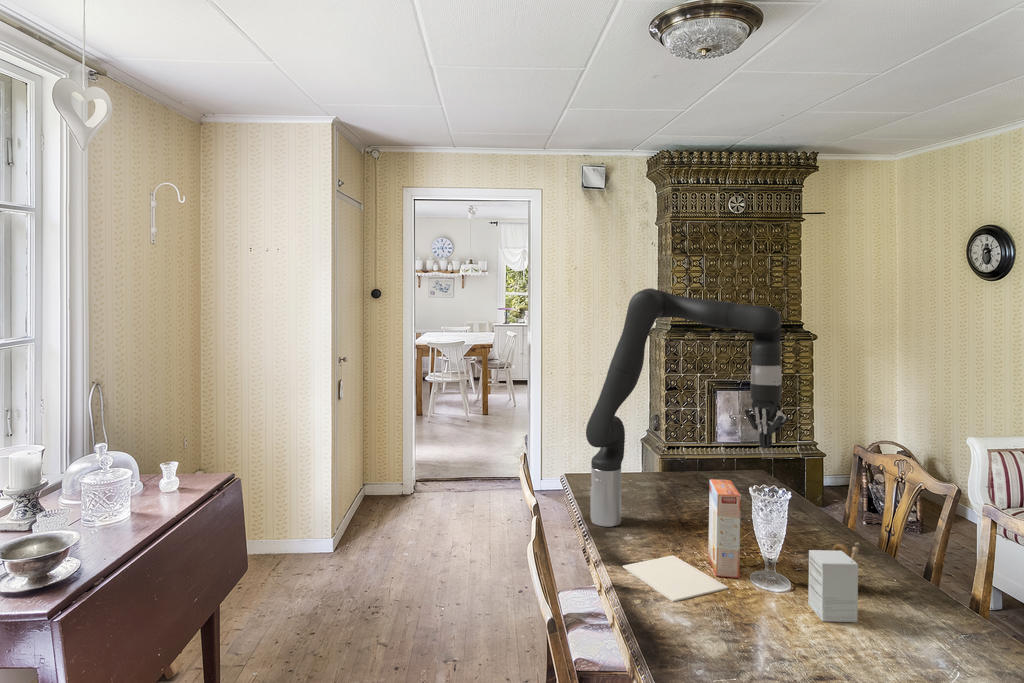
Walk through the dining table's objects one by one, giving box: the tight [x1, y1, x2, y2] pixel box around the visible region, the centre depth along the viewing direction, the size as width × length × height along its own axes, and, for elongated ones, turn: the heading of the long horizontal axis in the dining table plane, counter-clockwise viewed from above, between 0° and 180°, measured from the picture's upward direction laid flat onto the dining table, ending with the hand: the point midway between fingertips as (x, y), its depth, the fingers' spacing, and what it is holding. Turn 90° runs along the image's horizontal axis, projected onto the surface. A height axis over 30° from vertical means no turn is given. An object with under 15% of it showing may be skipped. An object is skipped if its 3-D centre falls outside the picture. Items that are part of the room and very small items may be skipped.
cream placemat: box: [622, 555, 729, 603], centre depth 144 cm, size 20×16×1 cm
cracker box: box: [707, 478, 742, 579], centre depth 150 cm, size 14×6×21 cm, turn 168°
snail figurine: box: [832, 542, 860, 563], centre depth 138 cm, size 5×6×12 cm
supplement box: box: [807, 549, 859, 623], centre depth 126 cm, size 7×7×13 cm
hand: (765, 447), depth 155 cm, fingers closed
